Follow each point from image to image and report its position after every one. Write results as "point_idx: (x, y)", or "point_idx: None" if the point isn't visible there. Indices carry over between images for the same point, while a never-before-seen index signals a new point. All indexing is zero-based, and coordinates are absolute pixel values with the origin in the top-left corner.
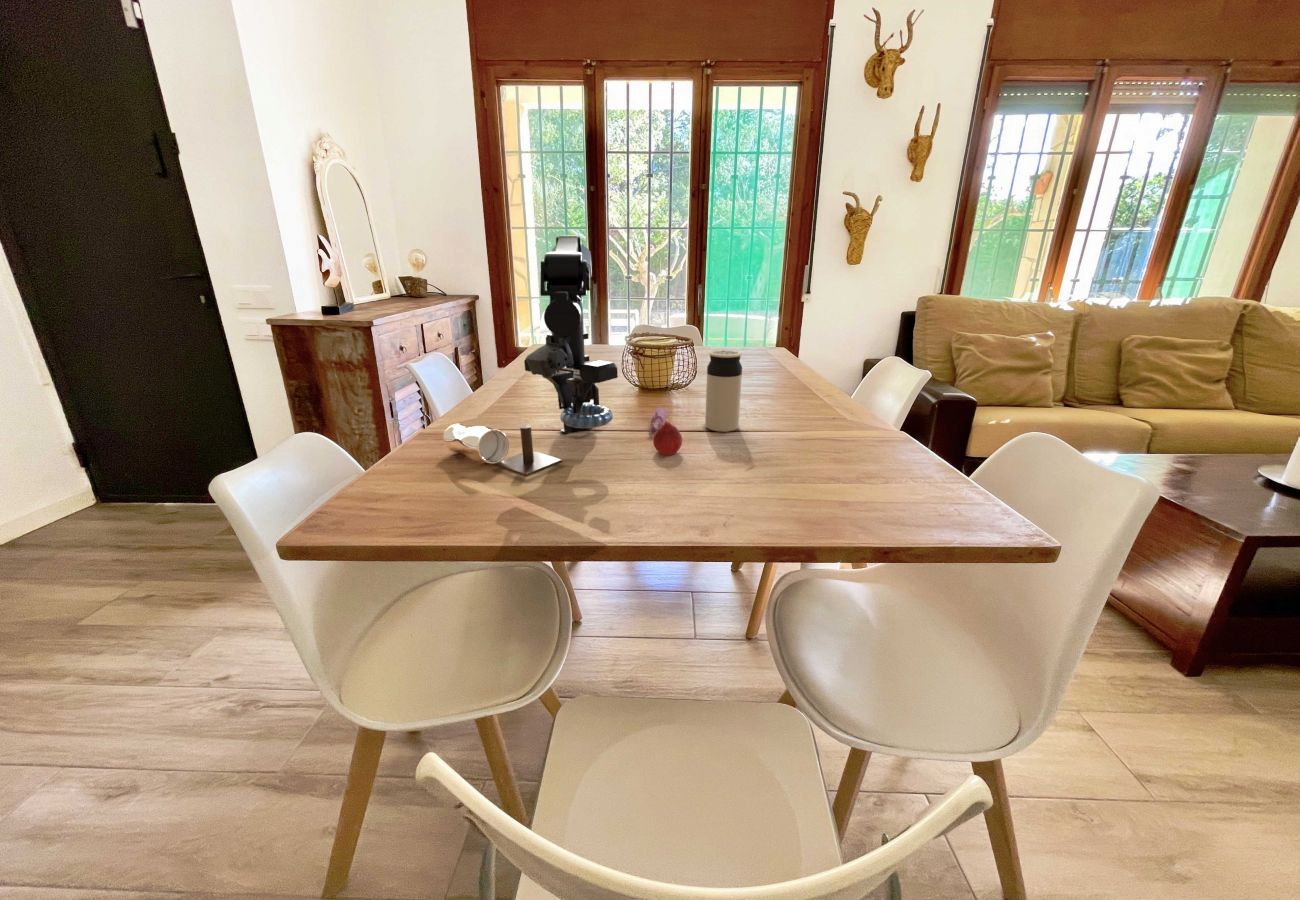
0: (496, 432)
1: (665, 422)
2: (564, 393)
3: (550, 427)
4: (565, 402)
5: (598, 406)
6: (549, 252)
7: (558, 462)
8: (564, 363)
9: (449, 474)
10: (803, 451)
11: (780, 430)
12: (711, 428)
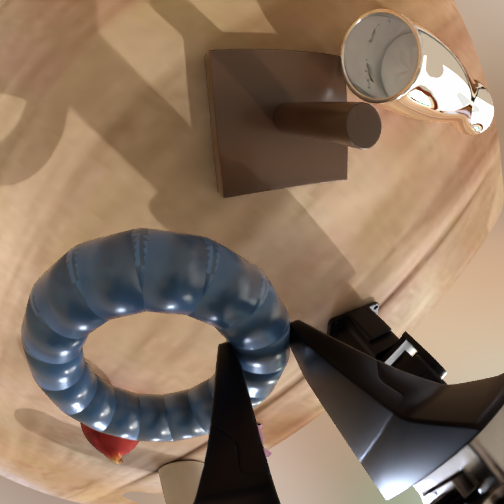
0: (427, 108)
1: (113, 456)
2: (345, 393)
3: (402, 297)
4: (311, 355)
5: (187, 431)
6: None
7: (221, 182)
8: None
9: (376, 2)
10: (57, 468)
11: (130, 485)
12: (179, 463)
